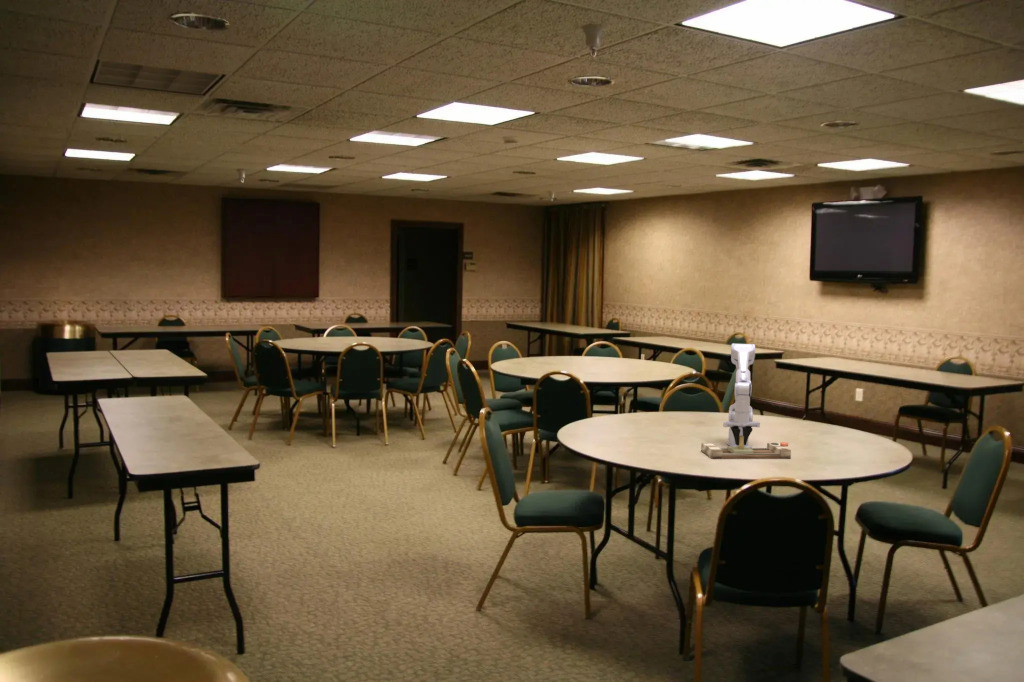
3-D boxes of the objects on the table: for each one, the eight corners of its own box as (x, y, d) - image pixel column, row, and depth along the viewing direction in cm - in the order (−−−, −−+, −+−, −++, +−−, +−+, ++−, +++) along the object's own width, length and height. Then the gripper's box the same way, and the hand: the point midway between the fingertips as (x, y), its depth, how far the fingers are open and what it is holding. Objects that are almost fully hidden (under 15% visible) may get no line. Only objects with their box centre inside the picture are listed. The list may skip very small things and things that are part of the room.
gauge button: (778, 444, 319) (779, 442, 319) (786, 445, 319) (786, 442, 319) (782, 446, 316) (782, 443, 316) (789, 446, 316) (789, 443, 316)
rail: (701, 451, 328) (701, 442, 327) (776, 451, 330) (776, 442, 330) (712, 458, 314) (712, 449, 313) (790, 458, 316) (791, 449, 316)
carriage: (727, 450, 325) (728, 434, 324) (746, 450, 325) (747, 434, 325) (733, 453, 318) (734, 438, 317) (753, 453, 318) (753, 438, 318)
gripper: (728, 413, 316) (726, 446, 317) (763, 413, 317) (761, 446, 318) (722, 410, 323) (720, 443, 324) (756, 410, 324) (755, 443, 325)
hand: (740, 444), depth 321 cm, fingers closed on carriage, 2 cm apart
